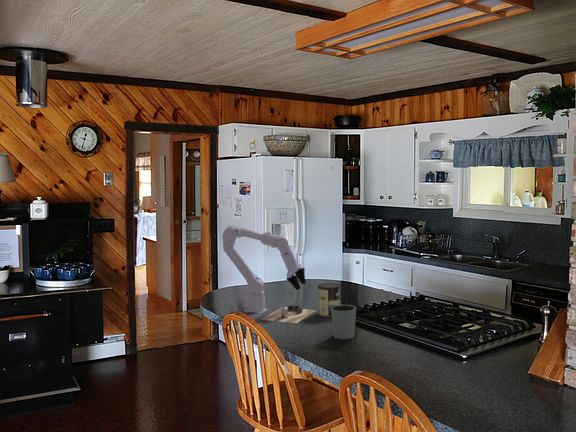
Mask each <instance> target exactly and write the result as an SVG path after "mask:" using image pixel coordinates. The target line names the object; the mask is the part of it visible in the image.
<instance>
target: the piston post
mask: <svg viewBox="0 0 576 432" xmlns="http://www.w3.org/2000/svg"><path fill="white" fill-rule="evenodd" d="M280 308H281V318H288V307H285V306H282V307H280Z"/></svg>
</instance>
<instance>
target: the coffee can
mask: <svg viewBox="0 0 576 432" xmlns="http://www.w3.org/2000/svg"><path fill="white" fill-rule="evenodd" d="M340 294H341V293H340V284H338V283H332V282H331V283H330V282H329V283H321V284H317V300H318V301H317V302H318V303H317V304H318V308H317V309H318V315H319V316H322V317H328V318H329V317H330V318H331V319H332V313H331V307H333V306H336V305H341V301H340V300H341V297H340Z"/></svg>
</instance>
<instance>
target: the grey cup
mask: <svg viewBox="0 0 576 432" xmlns="http://www.w3.org/2000/svg"><path fill="white" fill-rule="evenodd" d="M331 313H332V318H331V320H332V330H333V332H332V333H333V337H334V339H337V340H350V339H351V340H352V339H354V338H355V335H356V331H355V329H356V314H357V307H356V306H354V305H351V304H340V305H336V306H333V307H331Z"/></svg>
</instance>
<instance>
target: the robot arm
mask: <svg viewBox="0 0 576 432" xmlns="http://www.w3.org/2000/svg"><path fill="white" fill-rule="evenodd" d="M221 237H222V246H223V247H222V249H223V251H224V253H225V254H226V256H228V258H229V259H230V261H231V262H232V263H233V265H234V266H235V267H236V269H237V270H238V271H239V273H240V274H241V276H242V277H243V278H244V280H245V282H246V283H247V285H248V287H249V292H247V293H245V295H244V297H243V298H244V299H243V300H244V310H243V312H244V313H248V312H249V313H257V314H262V313H264V312H266V311H268V310H269V309H268V308H266V305H265V303H266V302H265V299H266V298H265V291H264V286H265V284H264V280H263V279H262V278H260V277H258V276H257V274H255V273H254V272H253V270H252V269H251V268H250V266H249V265H248V263H246V261H245V260H244V258H243V257H242V256H241V254H240V253H239V252H238V250H237V249H236V248H235V242H236V239H239V238H244V237H246V238H249V239H253V240H256V241H257V240H258V241H260V242H261V244H262V245H263V246H268V247H271V248H276V249H277V250H278V251H279V252H280V256H281V258H282V261H283V263H284V266H285V268H286V270H287V273H286V281H288V282H289V283H290V284H291V285H292V286H293V288H294V289H295V290H296V291H298V290H300V289H301V286H300V284H301V285H304V284H306V283H307V281H306V275H305V274H306V273H305V271H306V269H305V267H302V264H301V263H299V264H298V262H297V259H296V257H295V254H294V252H293V250H292V249H291V246H290V245H289V244H290V243H289V240H288V239H287V237H284V236H281V235H279V234H278V235H277V234H272V233H271V232H270V231H268V232H263V233H260V232H256V231H254V230H251V229H248V228H245V227H241V226H235V225H229V226H227V227H226V228H225V229H224V230H223V233H222V236H221ZM299 282H300V283H299Z"/></svg>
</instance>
